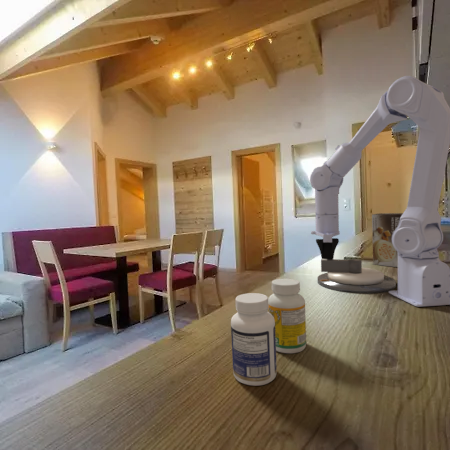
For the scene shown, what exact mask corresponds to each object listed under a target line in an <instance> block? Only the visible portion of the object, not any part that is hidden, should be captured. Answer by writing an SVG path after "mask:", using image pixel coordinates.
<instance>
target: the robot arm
mask: <svg viewBox="0 0 450 450" xmlns="http://www.w3.org/2000/svg"><path fill="white" fill-rule="evenodd" d="M408 118H409V119H410V120H411V121H413V123H414V124H416V125H417V126H418V128H419V133H418V138H417V145H416V152H415V158H414V163H413V168H412V175H411V181H410V187H409V194H408V201H407V206H406V208H405V210H404V211H403V212H402V213H403V214H402V216H401V217H400V221H399V225H398V227H397V228H396V230H395V231H394V232H393V235H392V244H393V246H394V248H395V249H396V251H397V252H398V267H397V290H390V291H388V294H390V295H391V296H394V297H395V298H398V299H400V300H402V301H404V302H406V303H408V304H411V305H412V306H413V307H414V306H415V307H416V308H417V307H422V308H423V307H435V306H446V305H447V306H448V305H449V306H450V266H449V265H448V264H447V263H446V262H443V261H442V260H441V259H440V256H439V255H440V254H439V253H440V252H439V250H438V248H439V247H440V246H441V245H442V243H443V241H444V233H443V231H442V227H441V222H442V217H441V215H440V213H439V210H438V209H439V205H440V198H441V193H442V188H443V182H444V177H445V171H446V165H447V162H448V161H447V160H448V156H449V150H450V106H449V104H448V101H447V100H446V99H445V94H444V92H443V91H442V90H441V89H438V88H437V87H435V86H433V85H432V84H428V83H425V82H424V81H421V80H420V79H419V78H416V77H415V76H412V75H404V76H401V77H399V78H398V79H395V81H393V82H392V83H391V85H390V86H389V88H388V89H387V90H386V91H385V92H384V93H383V94H382V95H380V99H379V101H378V103H377V106H376V107H375V108H374V109H373V111H372V113H371V114H370V115H369V116H368V118H367V119H366V120H365V122H364V123H362V125H361V127H360V128H359V129H358V130H357V131H356V133H355V135H354V136H353V137H352V138H351V139H350V141H349V142H343V143H341V144H340V145H337V146H336V147H335V150H334V152H333V154H332V155H331V156H330V157H329V158H328V160H326V161H324V162H323V164H322V165H321V166H317V167H315V168H314V169H313V171H312V172H311V174H310V177H309V181H310V185H311V187H312V189H314V200H315V201H314V202H315V203H314V205H315V206H314V208H315V230H311V231H310V234H311V235H316V236H319V237H322V238H316V239H315V242H316V245H317V247H318V249H319V252H320V258H321V259H334V258H335V251H336V248H337V247H338V244H339V243H340V241H339V238H338V237H337V238H336V236H339V235H340V233H341V232H340V229H339V227H340V225H339V224H340V221H339V219H340V217H339V216H340V215H339V213H340V212H339V194H340V188H341V187H342V185H343V183H344V177H345V176H346V175H347V174H348V173H349V172H350V171H351V170H352V169H353V167H355V166H356V165H357V163H359V161H360V160H361V159H362V156H363V155H362V154H363V153H362V151H363V150H364V149H365V148H366V147H367V146H368V145H369V144H370V143H371V142H372V141H373V140H374V139H375V138H376V137H377V136H378V135H379V134H381V132H382V131H384V129H386V127H387V126H388V125H390V124H394V123H398V122H403V121H406V120H408ZM334 237H335V238H334Z"/></svg>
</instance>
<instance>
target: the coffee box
mask: <svg viewBox="0 0 450 450" xmlns="http://www.w3.org/2000/svg"><path fill="white" fill-rule="evenodd" d="M403 213H404V212H397V213H396V212H394V213H392V212H389V213H381V212H379V213H374V214H371V224H372V225H371V227H372V231H371V234H372V235H371V237H372V240H371V241H372V265H374V266H383V267H384V266H385V267H386V266H387V267H394V268H398V252H397V251H396V249H395V248H394V246H393V244H392V235H393V232H394V231H395V230H396V228H397V227H398V225H399V221H400V217H401V216H402V214H403Z"/></svg>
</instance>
